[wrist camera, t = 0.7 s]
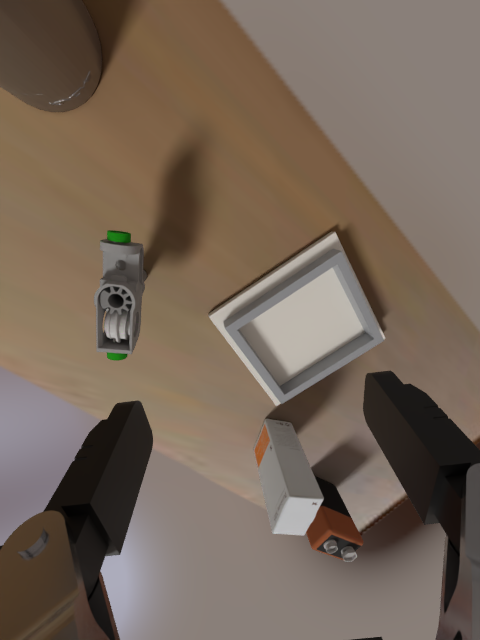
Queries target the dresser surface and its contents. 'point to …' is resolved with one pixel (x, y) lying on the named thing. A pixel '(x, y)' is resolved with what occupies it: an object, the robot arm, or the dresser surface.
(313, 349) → the grey rimmed tray
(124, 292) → the mechanical component
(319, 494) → the skincare box
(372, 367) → the dresser surface
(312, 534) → the battery
